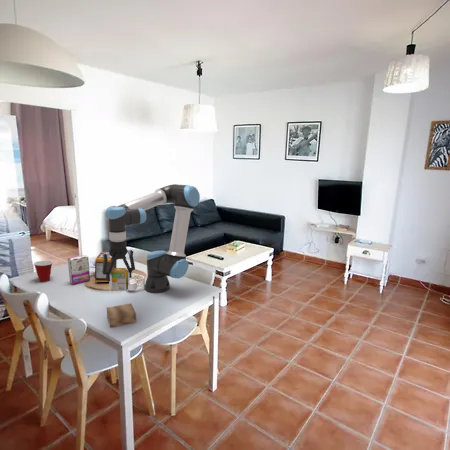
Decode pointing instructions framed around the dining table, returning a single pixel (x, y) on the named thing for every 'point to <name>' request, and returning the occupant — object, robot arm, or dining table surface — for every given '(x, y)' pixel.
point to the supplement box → (99, 266)
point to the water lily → (93, 264)
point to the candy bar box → (78, 269)
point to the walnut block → (121, 315)
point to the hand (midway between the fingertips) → (119, 285)
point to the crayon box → (119, 279)
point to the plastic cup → (43, 270)
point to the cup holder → (134, 283)
